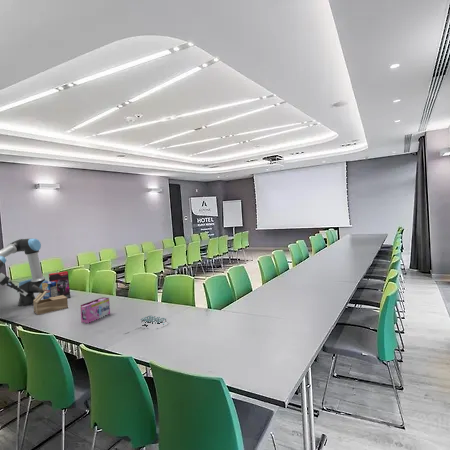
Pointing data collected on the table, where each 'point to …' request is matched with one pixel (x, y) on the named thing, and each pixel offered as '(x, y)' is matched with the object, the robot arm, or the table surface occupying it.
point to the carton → (50, 304)
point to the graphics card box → (61, 283)
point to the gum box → (95, 309)
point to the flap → (41, 294)
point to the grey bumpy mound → (152, 320)
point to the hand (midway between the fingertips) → (24, 293)
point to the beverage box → (50, 289)
